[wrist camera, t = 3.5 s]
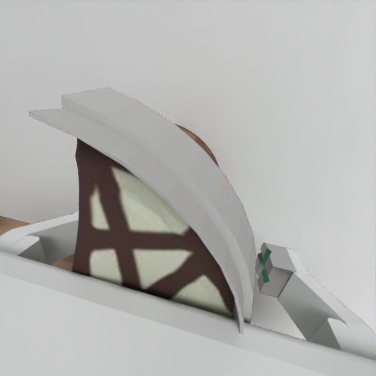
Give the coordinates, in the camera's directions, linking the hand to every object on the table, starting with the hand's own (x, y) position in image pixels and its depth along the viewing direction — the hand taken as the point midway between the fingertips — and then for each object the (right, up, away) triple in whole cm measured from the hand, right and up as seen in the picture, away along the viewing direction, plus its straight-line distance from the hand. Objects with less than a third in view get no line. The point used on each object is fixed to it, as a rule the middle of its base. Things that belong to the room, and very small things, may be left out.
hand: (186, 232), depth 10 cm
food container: (+1, +2, +4) cm, 5 cm away
